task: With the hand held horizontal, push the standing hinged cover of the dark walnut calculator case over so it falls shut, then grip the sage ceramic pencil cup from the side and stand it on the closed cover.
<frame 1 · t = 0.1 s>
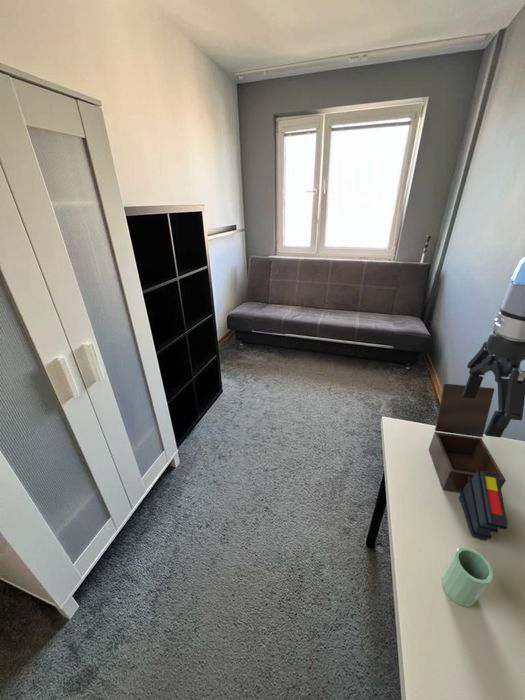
hand: (479, 414, 67), 25 cm above the table, tool pointing down, fingers open, 13 cm apart
case: (458, 472, 82), on the table
black layered block: (472, 522, 70), on the table
pencil cup: (458, 588, 58), on the table
cover: (463, 410, 82), point 16 cm above the table, hinge at 105.0°
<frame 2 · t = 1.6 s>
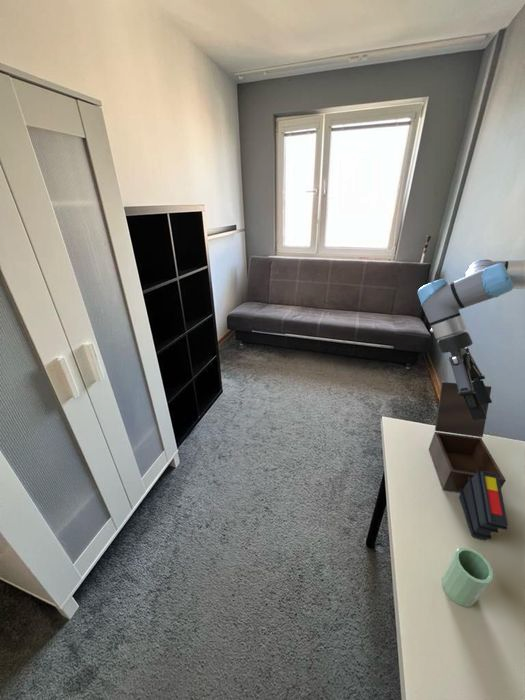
hand: (483, 410, 74), 21 cm above the table, tool tilted 40°, fingers open, 12 cm apart
cover: (462, 409, 83), point 15 cm above the table, hinge at 111.0°, touching gripper
everything else where it was.
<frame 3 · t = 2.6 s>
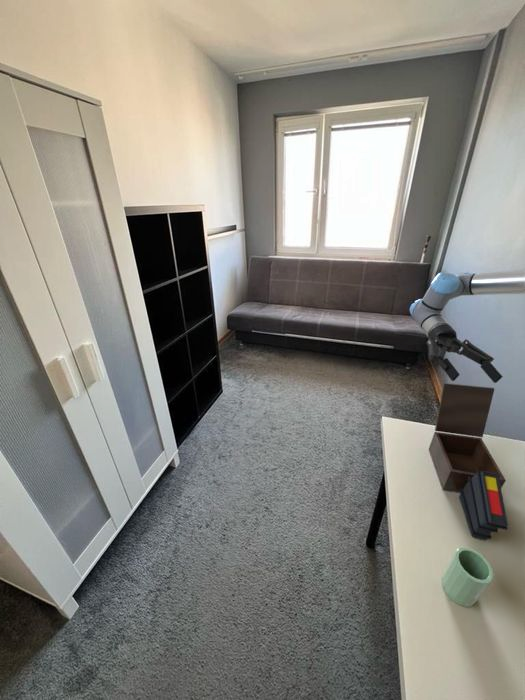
hand: (477, 378, 79), 25 cm above the table, tool horizontal, fingers open, 13 cm apart
cover: (463, 410, 82), point 16 cm above the table, hinge at 105.1°
everything else where it was.
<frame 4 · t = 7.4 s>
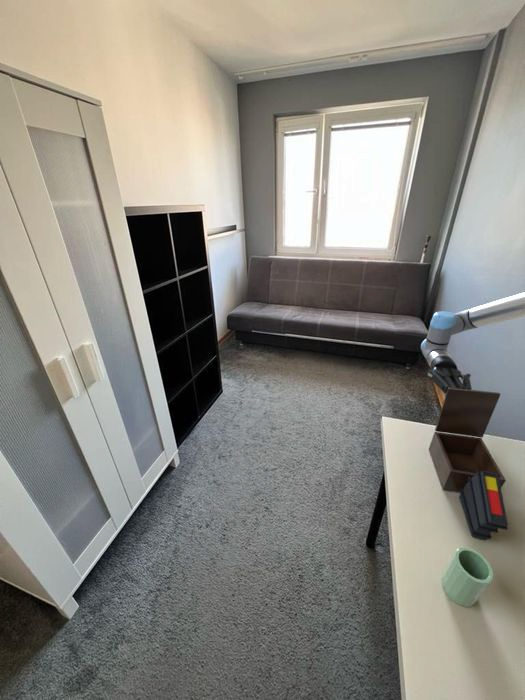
hand: (466, 405, 81), 18 cm above the table, tool horizontal, fingers closed
cover: (465, 413, 81), point 16 cm above the table, hinge at 93.2°, touching gripper
everything else where it was.
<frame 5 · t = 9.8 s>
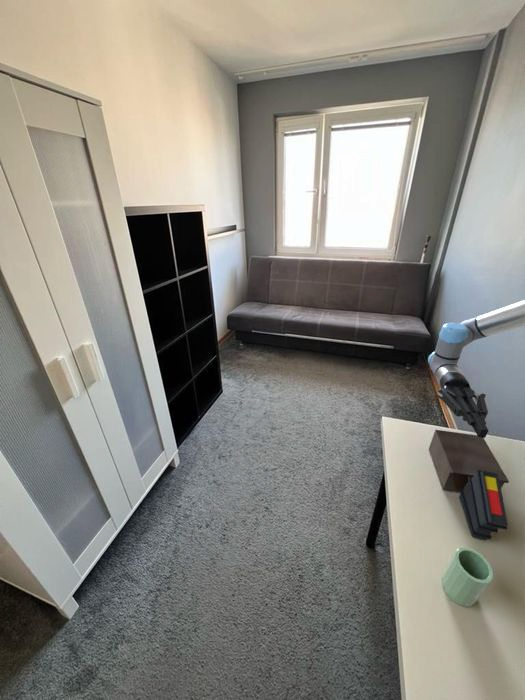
hand: (483, 433, 71), 18 cm above the table, tool horizontal, fingers closed
cover: (468, 453, 78), point 8 cm above the table, hinge at -0.1°
everything else where it was.
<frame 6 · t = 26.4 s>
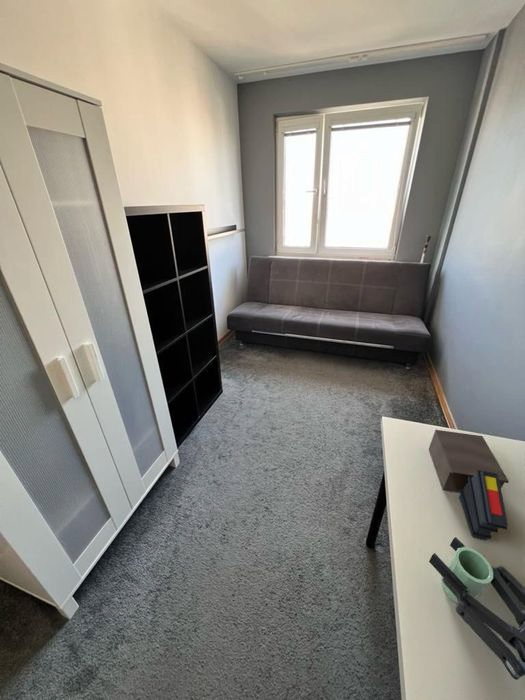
hand: (442, 549, 59), 6 cm above the table, tool horizontal, fingers closed on pencil cup, 6 cm apart
pencil cup: (458, 588, 58), on the table, touching gripper
everything else where it was.
when the fingers open (15 cm above the table, at t = 37.3 s): pencil cup stays where it is, resting on cover.
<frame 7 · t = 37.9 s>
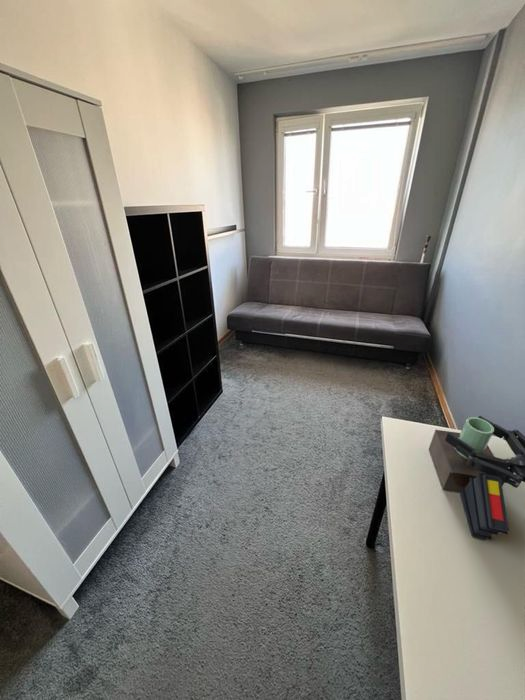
hand: (462, 427, 78), 15 cm above the table, tool horizontal, fingers open, 13 cm apart
pencil cup: (467, 451, 78), point 9 cm above the table, touching cover
cover: (468, 453, 78), point 8 cm above the table, hinge at -0.2°, touching case, pencil cup
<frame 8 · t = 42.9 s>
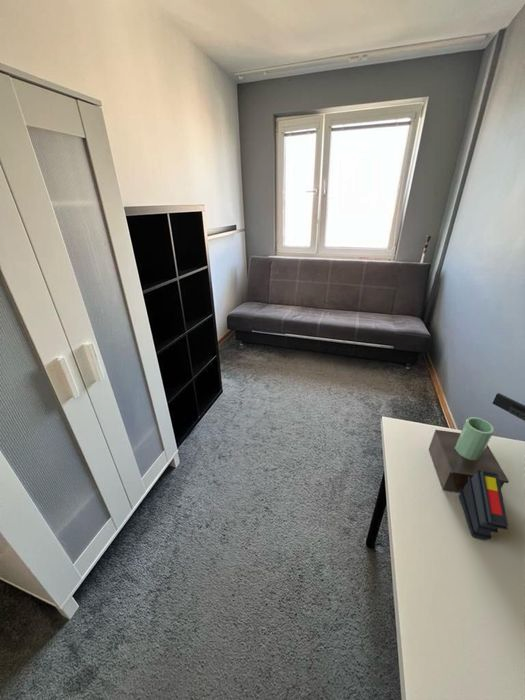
hand: (512, 389, 65), 32 cm above the table, tool horizontal, fingers open, 13 cm apart
at the end: cover at +0° (first picture: +105°); pencil cup inside the target area on the case (0.0 cm from its centre), point 8.6 cm above the case's base; pencil cup tilted 0° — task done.
